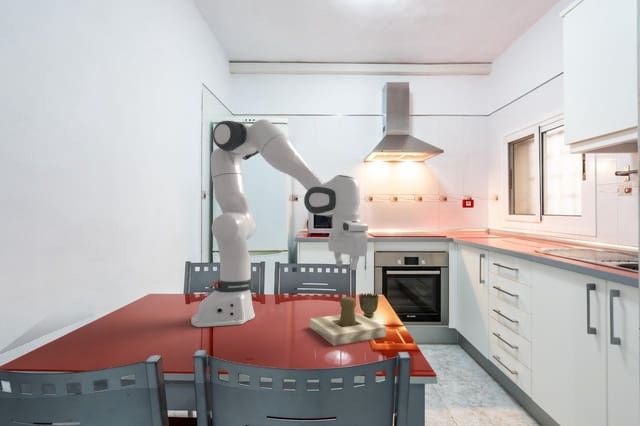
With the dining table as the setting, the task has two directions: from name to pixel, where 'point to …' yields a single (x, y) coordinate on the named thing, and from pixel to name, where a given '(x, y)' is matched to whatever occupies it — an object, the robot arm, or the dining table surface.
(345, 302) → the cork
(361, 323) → the socket board
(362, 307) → the cup
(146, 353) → the dining table surface
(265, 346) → the dining table surface
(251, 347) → the dining table surface
